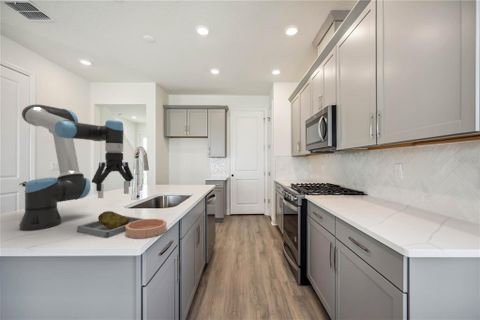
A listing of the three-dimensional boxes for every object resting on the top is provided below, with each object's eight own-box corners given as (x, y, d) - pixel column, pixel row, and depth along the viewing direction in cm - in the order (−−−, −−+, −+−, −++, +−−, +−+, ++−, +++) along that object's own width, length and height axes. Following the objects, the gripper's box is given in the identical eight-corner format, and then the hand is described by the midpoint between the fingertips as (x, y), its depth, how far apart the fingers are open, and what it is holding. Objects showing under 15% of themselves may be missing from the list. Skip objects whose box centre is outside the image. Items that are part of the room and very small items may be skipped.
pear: (120, 231, 99) (121, 213, 99) (94, 230, 99) (94, 213, 99) (131, 225, 107) (131, 209, 107) (107, 224, 108) (107, 209, 108)
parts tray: (77, 231, 97) (77, 226, 97) (119, 219, 117) (119, 215, 117) (106, 238, 90) (106, 232, 90) (145, 223, 110) (145, 219, 110)
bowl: (116, 235, 93) (116, 226, 93) (146, 224, 109) (146, 217, 109) (146, 240, 87) (146, 232, 87) (173, 228, 103) (173, 221, 103)
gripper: (93, 151, 90) (93, 200, 90) (140, 153, 113) (140, 192, 113) (82, 151, 93) (82, 199, 93) (130, 153, 116) (130, 191, 116)
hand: (114, 195), depth 103 cm, fingers open, 13 cm apart
